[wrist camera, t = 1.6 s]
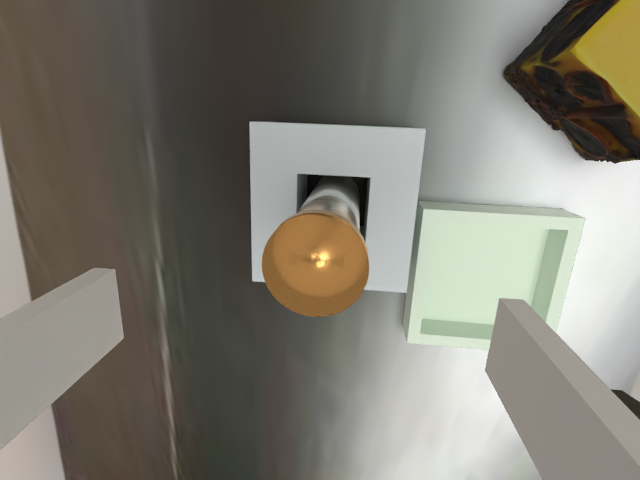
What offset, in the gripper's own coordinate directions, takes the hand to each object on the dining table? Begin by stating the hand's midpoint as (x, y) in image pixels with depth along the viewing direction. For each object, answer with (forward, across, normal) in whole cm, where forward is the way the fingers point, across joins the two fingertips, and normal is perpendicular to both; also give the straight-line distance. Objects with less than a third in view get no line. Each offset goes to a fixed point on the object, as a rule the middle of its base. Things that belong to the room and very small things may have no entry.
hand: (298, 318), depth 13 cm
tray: (+21, +13, -6) cm, 26 cm away
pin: (+21, 0, 0) cm, 21 cm away
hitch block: (+21, 0, 0) cm, 21 cm away
